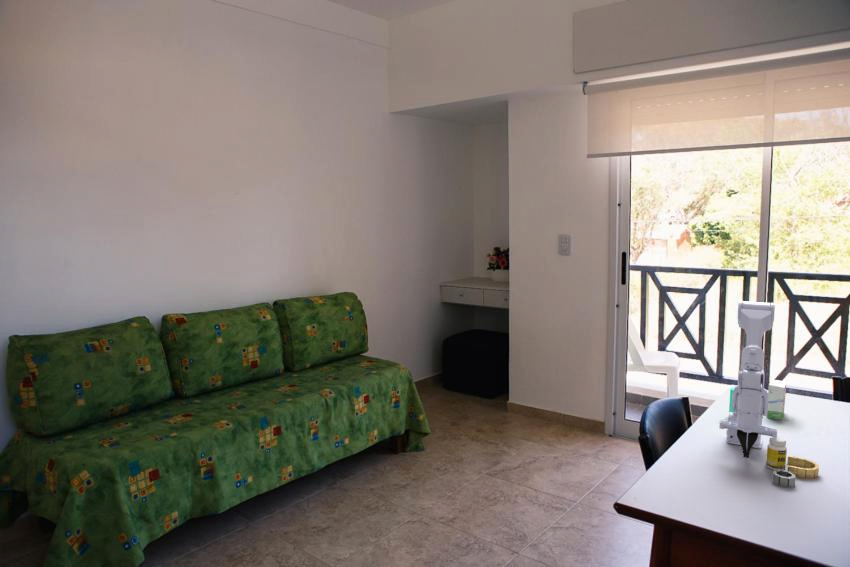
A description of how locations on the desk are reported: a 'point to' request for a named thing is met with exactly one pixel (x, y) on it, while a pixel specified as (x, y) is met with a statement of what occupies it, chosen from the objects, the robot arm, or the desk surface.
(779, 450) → the supplement bottle
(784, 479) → the small steel collar
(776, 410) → the ink box
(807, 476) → the wide wooden arch
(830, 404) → the desk surface
